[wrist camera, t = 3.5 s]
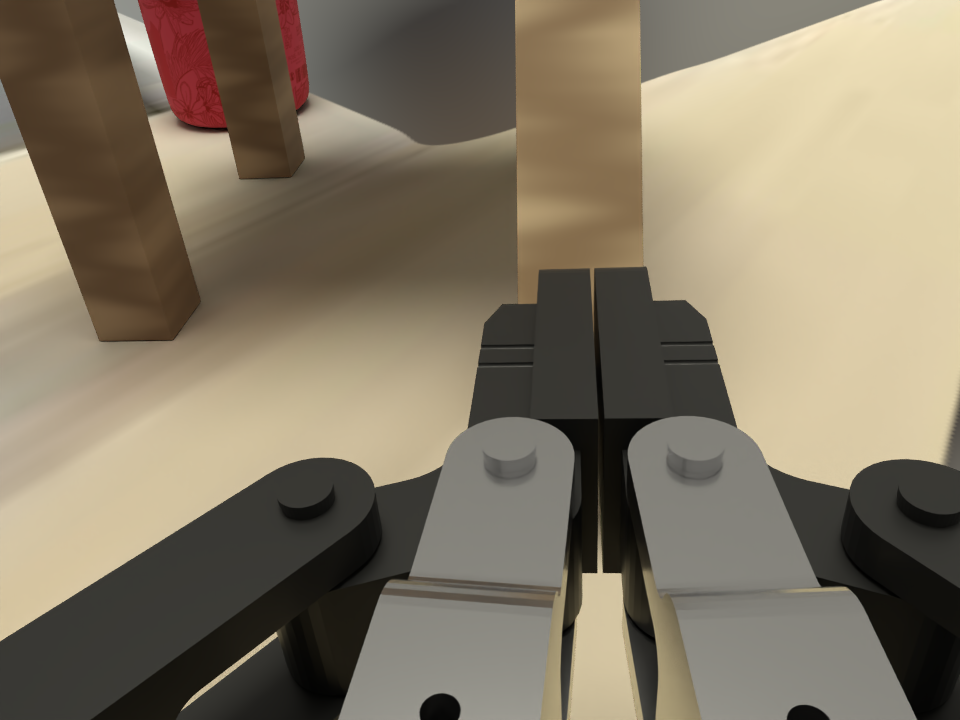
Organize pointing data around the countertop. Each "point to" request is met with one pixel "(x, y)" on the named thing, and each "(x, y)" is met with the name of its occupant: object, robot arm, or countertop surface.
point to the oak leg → (577, 138)
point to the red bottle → (208, 58)
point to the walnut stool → (134, 145)
